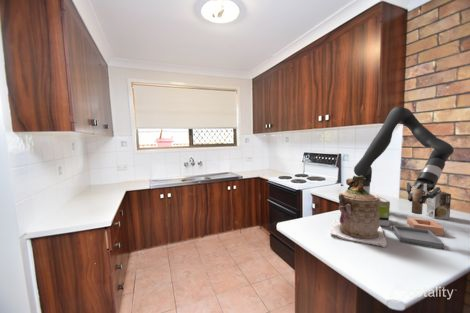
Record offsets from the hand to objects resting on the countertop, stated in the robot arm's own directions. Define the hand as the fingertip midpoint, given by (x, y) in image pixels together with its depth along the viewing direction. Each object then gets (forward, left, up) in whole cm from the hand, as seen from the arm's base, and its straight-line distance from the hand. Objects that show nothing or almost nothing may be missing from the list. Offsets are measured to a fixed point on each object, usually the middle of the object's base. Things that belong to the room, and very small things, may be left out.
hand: (415, 201), depth 102 cm
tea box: (-14, +20, -20) cm, 31 cm away
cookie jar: (-25, -4, -20) cm, 32 cm away
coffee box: (+24, +44, -19) cm, 53 cm away
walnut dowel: (+1, +2, -6) cm, 6 cm away
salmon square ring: (+9, +17, -19) cm, 27 cm away
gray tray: (+1, +2, -19) cm, 19 cm away
